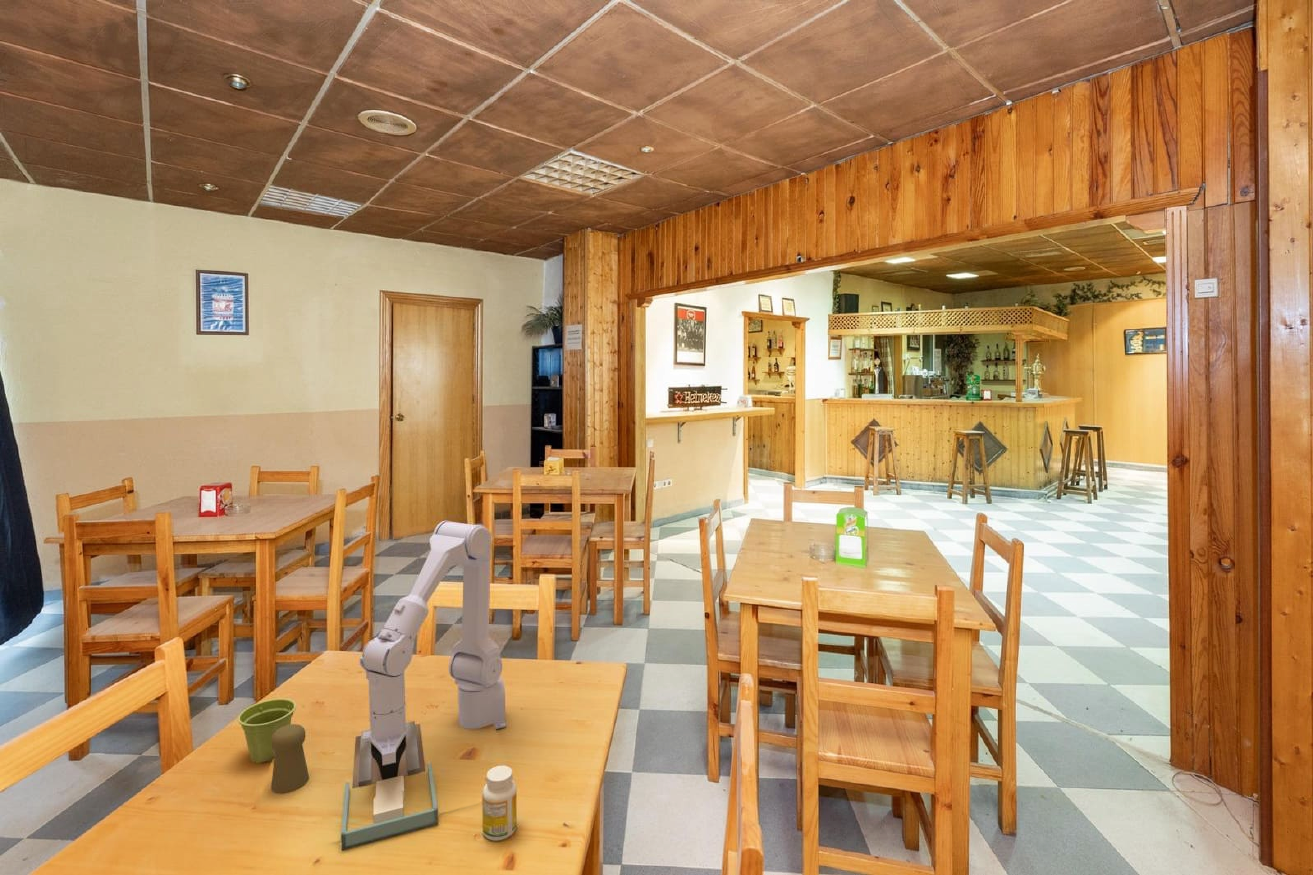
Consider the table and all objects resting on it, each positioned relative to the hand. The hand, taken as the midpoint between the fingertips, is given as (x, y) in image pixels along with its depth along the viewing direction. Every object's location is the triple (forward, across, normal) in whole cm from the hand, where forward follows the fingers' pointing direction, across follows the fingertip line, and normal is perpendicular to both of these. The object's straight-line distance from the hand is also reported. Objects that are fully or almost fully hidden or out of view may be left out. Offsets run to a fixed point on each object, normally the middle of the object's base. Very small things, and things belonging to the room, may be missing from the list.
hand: (389, 780), depth 107 cm
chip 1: (+1, +3, 0) cm, 3 cm away
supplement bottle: (+2, +18, +16) cm, 24 cm away
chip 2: (+1, +7, 0) cm, 8 cm away
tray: (+2, +6, 0) cm, 6 cm away
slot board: (+2, -10, 0) cm, 10 cm away
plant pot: (+2, -20, -21) cm, 29 cm away
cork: (+2, -8, -16) cm, 18 cm away
